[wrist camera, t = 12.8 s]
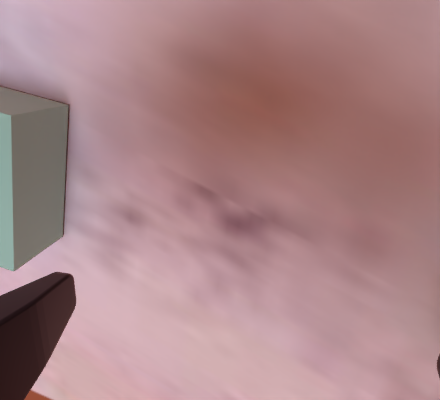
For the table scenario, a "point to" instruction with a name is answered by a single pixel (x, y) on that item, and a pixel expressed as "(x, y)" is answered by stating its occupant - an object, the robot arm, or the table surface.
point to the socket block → (30, 175)
